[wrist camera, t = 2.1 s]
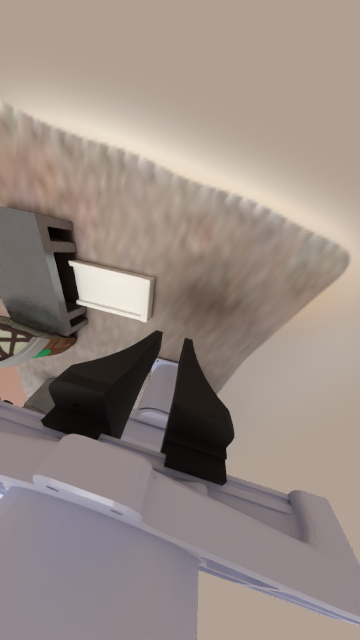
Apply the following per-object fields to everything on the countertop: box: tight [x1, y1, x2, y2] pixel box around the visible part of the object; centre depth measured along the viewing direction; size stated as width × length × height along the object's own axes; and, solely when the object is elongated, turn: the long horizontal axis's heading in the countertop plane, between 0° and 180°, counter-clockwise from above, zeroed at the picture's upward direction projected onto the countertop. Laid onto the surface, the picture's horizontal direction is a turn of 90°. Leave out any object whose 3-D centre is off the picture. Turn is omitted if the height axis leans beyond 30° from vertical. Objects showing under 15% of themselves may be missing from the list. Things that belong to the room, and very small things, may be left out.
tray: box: [68, 260, 155, 323], centre depth 20 cm, size 12×6×2 cm, turn 80°
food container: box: [0, 316, 77, 367], centre depth 22 cm, size 12×6×10 cm
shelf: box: [0, 206, 88, 336], centre depth 20 cm, size 10×16×4 cm, turn 169°
